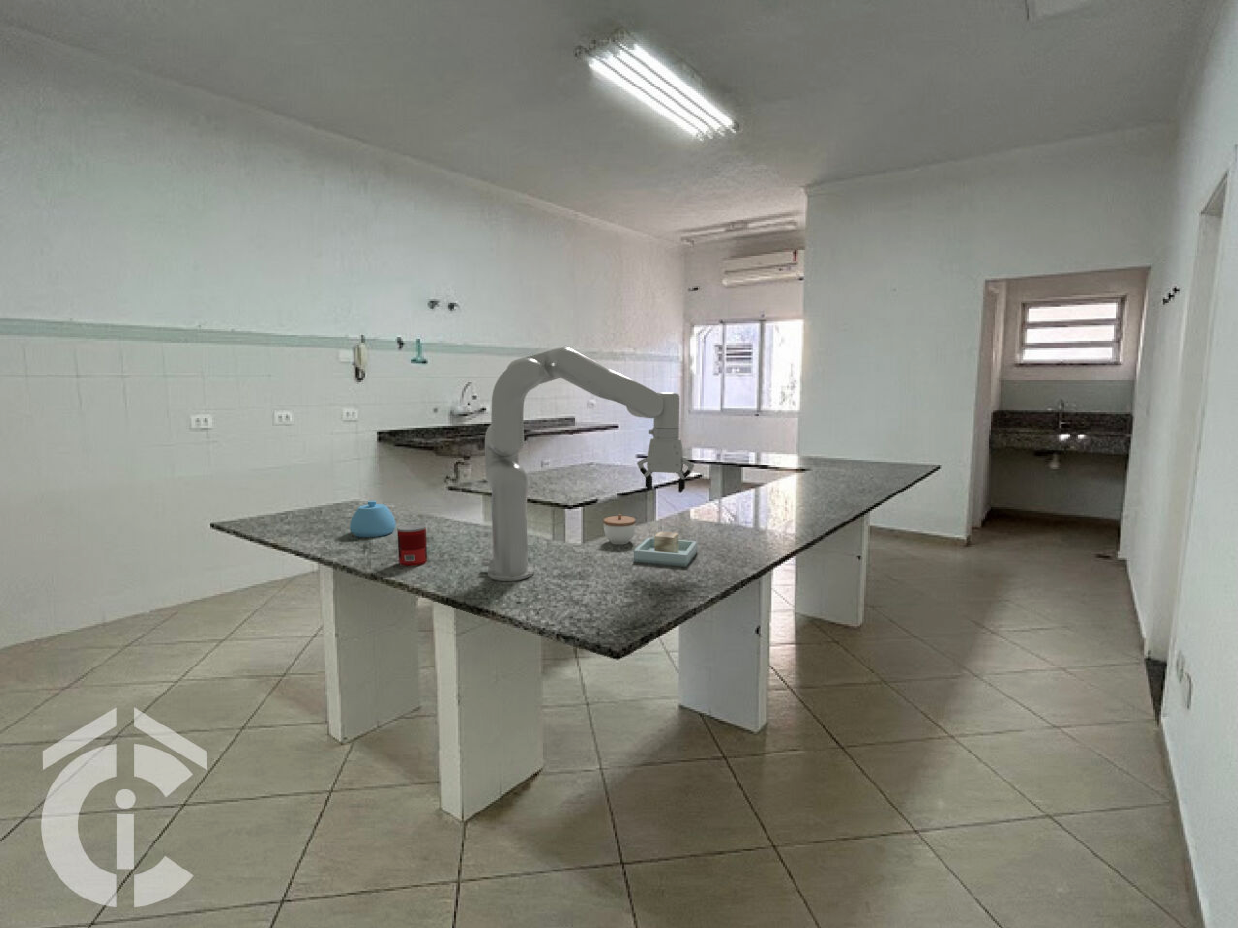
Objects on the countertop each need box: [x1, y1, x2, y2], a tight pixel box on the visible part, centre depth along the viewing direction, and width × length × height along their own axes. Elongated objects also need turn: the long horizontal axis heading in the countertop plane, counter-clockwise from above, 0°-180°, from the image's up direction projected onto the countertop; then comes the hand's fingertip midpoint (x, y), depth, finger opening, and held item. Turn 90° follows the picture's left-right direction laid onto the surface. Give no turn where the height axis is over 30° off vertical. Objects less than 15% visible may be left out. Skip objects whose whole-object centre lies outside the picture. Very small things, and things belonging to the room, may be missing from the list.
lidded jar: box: [603, 513, 637, 545], centre depth 206 cm, size 11×11×9 cm
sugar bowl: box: [349, 500, 397, 538], centre depth 218 cm, size 15×15×12 cm
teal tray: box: [633, 537, 698, 568], centre depth 189 cm, size 16×16×4 cm
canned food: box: [396, 523, 428, 567], centre depth 183 cm, size 8×8×11 cm
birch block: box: [653, 531, 679, 553], centre depth 188 cm, size 6×6×6 cm
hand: (664, 490), depth 186 cm, fingers open, 9 cm apart
